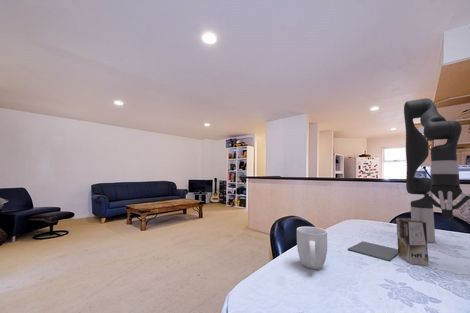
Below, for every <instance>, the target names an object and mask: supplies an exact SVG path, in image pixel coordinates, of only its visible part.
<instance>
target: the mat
mask: <svg viewBox="0 0 470 313" xmlns="http://www.w3.org/2000/svg"><path fill="white" fill-rule="evenodd" d="M347 251H350V252H353V253H355V254H356V253H357V254H361V255H364V256H368V257H370V258H371V257H372V258H374V259H375V258H376V259H379V260H382V261H386V262H391V261H392V260H393V259H395V258H396V257H397V256H398V248H396V247H395V248H394V247H389V246H385V245H382V244H376V243H371V242H367V241H363V240H362V241H360V242H358V243H356V244H354V245H352V246H350V247H348V248H347Z"/></svg>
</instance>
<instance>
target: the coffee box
mask: <svg viewBox="0 0 470 313" xmlns="http://www.w3.org/2000/svg"><path fill="white" fill-rule="evenodd" d="M395 220H396V237H397V238H396V239H397V249H398V255H397V256H398V257H400V258H402V259H403V260H404V261H406V262H407V263H408V264H411V265H421V266H429V252H428V242H427V230H426V223H425V222H422V221H419V220H416V219H412V218H410V217H396V218H395Z"/></svg>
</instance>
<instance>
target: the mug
mask: <svg viewBox="0 0 470 313" xmlns="http://www.w3.org/2000/svg"><path fill="white" fill-rule="evenodd" d="M296 247H297V248H296V249H297V254H298V257H299V260H300V262H301V264H302V265H303V266H304V267H305V268H308V269H311V270H319V269H322V268H323V266H324V264H325V262H326V258H327V254H328V231H327V230H325V229H324V228H321V227H316V226H299V227H297V228H296Z"/></svg>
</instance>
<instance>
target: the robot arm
mask: <svg viewBox="0 0 470 313" xmlns="http://www.w3.org/2000/svg"><path fill="white" fill-rule="evenodd" d="M403 116H404V117H403V118H404V124H405V156H406V157H405V160H406V177H405V178H406V181H405V187H406V192H407V193H408V194H411V195H421V196H422V195H423V197H422V198H419V199H415V200H411V201H410V216H411V218H412V219H416V220H419V221H422V222H425V223H426V230H427V243H436V232H435V218H434V216H435V215H434V207H436V208H439V209H440V210H441V217H442V218H443V219H444V220H445V221H451V220H453V219H454V210H458V209H459V208H461V207H462V206H463V205H465V203H467V202H468V201H469V200H470V195H468V194H467V193H464V192H463V190H462V188H461V185H460V184H461V183H460V170H459V164H458V157H457V147H458V143H459V139H460V136H461V133H462V128H463V126H462V125H461V123H460V122H459V121H457V120H453V119H452V120H446V118H445V117H444V116H442V115H441V114H440V113H439V111H438V109H437V107H436V105H435V103H434V101H433V100H432V99H430V98H420V99H413V100H408V101H406V102H405V103H404V104H403ZM419 118H420V119H419ZM414 119H419V121H420V124H421V126H422V127H423V133H421V132H420V131H419V129H418V128H417V127H416V125H415V122H414ZM428 140H429V141H431V140H432V141H436V140H441V141H442V140H446V142H445V143H444V144H440V145H439V144H438V145H435V146H433V147H431V148H429V147H430V145H429V144H430V143H429V141H428ZM429 154H430V161H431V164H430V175H431V178H430V177H415V175H416V172H417V171H418V169H419V168H420V167H421V165H423V163H425V161H426V160H427V159H428V157H429ZM459 196H460V199H461V200H460V201H459V202H458V203H456V204H455V205H454V201H455V200H457V199H458V197H459ZM434 197H435V198H437V199H438V200H439V202H438V201H437V200H436V199H435V198H434ZM446 201H447V202H446ZM446 203H447V204H446Z"/></svg>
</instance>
